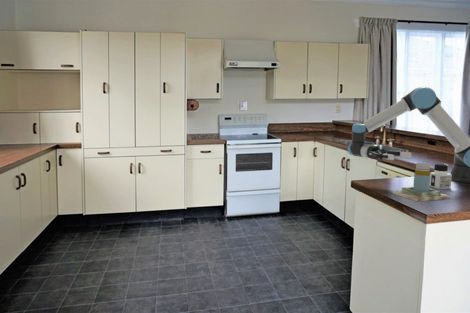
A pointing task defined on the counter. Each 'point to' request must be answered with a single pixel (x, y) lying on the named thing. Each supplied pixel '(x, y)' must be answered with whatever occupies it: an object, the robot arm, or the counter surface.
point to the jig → (420, 194)
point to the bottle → (422, 177)
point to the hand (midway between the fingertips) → (402, 156)
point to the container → (440, 177)
